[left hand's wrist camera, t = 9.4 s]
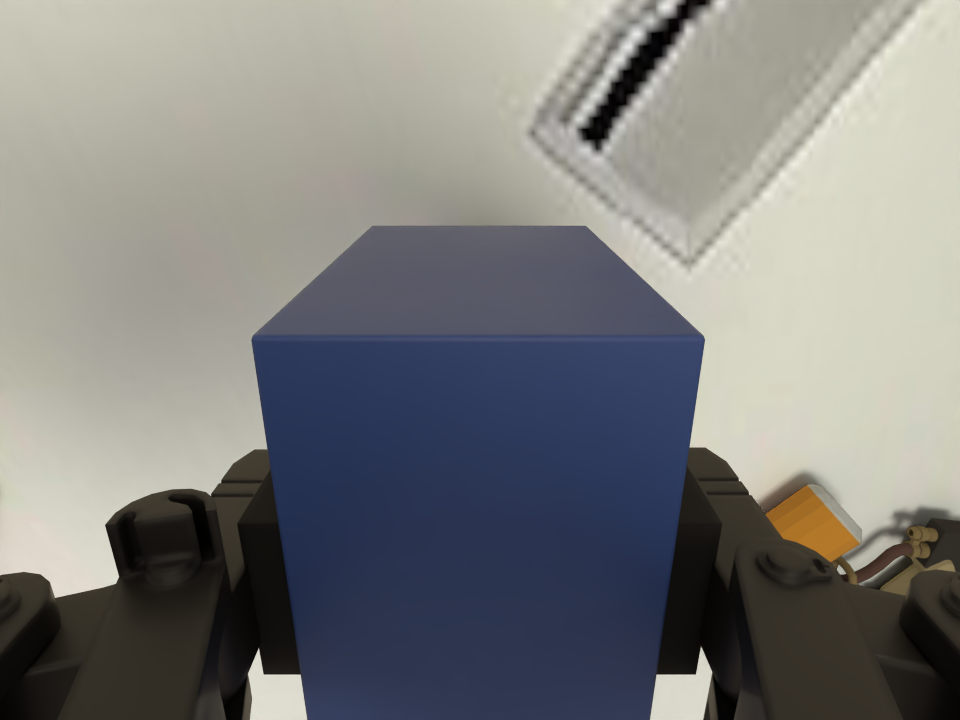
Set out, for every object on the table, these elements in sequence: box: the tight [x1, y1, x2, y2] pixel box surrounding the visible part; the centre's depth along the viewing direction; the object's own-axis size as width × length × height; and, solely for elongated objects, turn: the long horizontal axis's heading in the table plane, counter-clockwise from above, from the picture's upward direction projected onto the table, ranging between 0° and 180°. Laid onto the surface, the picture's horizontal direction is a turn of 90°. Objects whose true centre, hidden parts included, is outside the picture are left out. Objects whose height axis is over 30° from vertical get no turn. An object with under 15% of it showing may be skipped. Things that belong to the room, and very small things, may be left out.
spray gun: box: [701, 484, 960, 647], centre depth 39 cm, size 4×17×15 cm
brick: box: [252, 226, 705, 720], centre depth 12 cm, size 8×5×8 cm, turn 0°
